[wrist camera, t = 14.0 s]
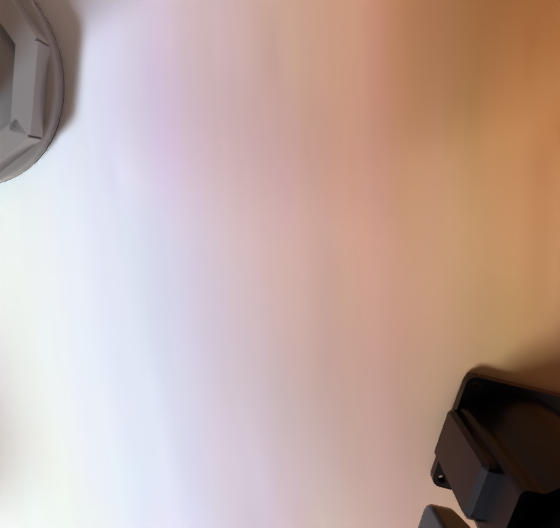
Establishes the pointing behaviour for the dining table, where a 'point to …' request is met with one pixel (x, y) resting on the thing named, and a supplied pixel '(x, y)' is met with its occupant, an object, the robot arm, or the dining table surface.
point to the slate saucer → (27, 86)
